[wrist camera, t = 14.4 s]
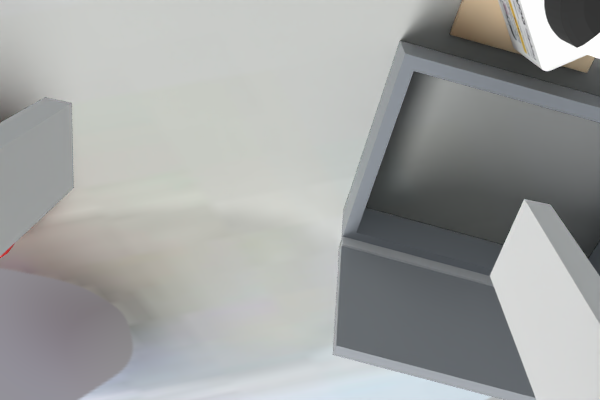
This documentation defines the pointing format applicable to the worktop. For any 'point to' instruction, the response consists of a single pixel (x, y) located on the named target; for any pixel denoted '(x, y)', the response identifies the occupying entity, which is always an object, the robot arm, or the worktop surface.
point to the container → (553, 29)
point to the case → (432, 255)
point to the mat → (494, 29)
